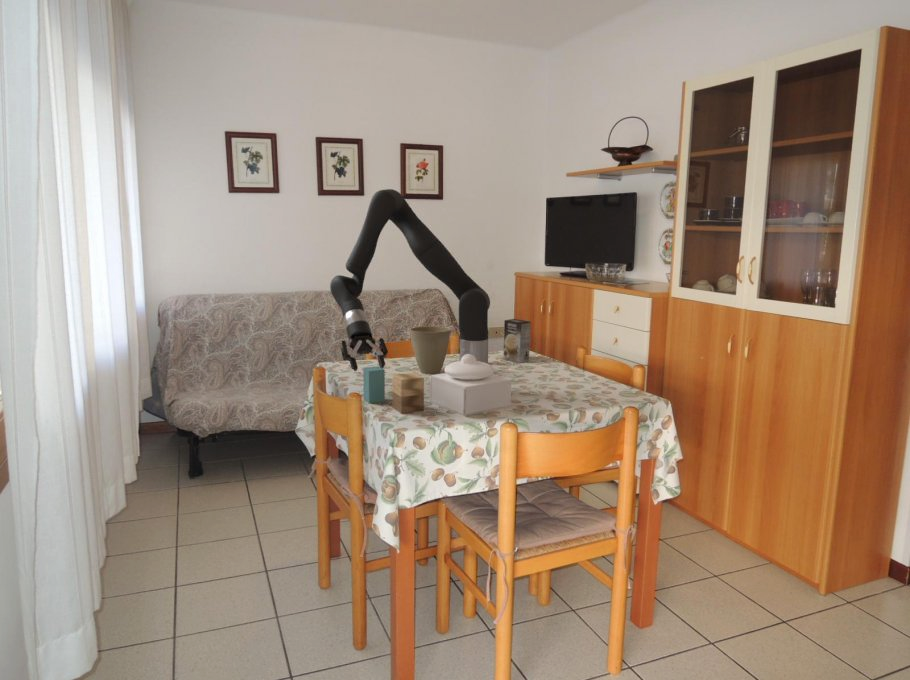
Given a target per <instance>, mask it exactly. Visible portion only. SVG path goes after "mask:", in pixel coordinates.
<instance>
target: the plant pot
mask: <svg viewBox="0 0 910 680" xmlns="http://www.w3.org/2000/svg"><path fill="white" fill-rule="evenodd" d="M451 330H452V329H451V328H450V327H447V326H446V327H445V326H438V325H434V326H433V325H431V326H430V325H427V326H426V325H425V326H424V325H423V326H422V325H421V326H415V327H410V328H409V333H410V342H411V346H412V350H413V354H414V357H415V361H416V364H417V367H418V369H419V372H420V373H422V374H427V375H436V374H440V373H441V372H442V368H443V366H444V364H445V360H446V357H447V353H448V348H449V344H450V340H451V339H450V338H451V332H452V331H451Z"/></svg>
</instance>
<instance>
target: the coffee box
mask: <svg viewBox="0 0 910 680" xmlns="http://www.w3.org/2000/svg"><path fill="white" fill-rule="evenodd" d="M531 323H532V322H531V321H529V320H524V319H518V318H512V319H511V318H510V319H506V320H505V319H504V323H503V325H504V327H503V328H504V329H503V356H502V357H503V359H502V360H504V361H505V360H506V361H508V362H509V361H510V362H513V363H520V364H521V363H527V362H529V361H530V352H531V351H530V350H531V349H530V347H531V329H532V328H531Z"/></svg>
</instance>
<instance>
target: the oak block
mask: <svg viewBox="0 0 910 680" xmlns="http://www.w3.org/2000/svg"><path fill="white" fill-rule="evenodd" d="M391 377H392V379H391V380H392V381H391V382H392V383H391V384H392V385H391V386H392V391H393V392H394V393H396V394H398V395H399V396H401V397H405V396H414V395H423V394H424V395H425V380H424V379H425V377H423V376H422V375H420V374H418V373H416V372H409V373H406V372H405V373H396V374H392V376H391ZM392 391H391V392H392Z"/></svg>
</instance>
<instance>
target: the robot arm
mask: <svg viewBox="0 0 910 680" xmlns="http://www.w3.org/2000/svg"><path fill="white" fill-rule="evenodd" d="M365 215H366V216H365V218H364V222H363V224H362V228H361V231H360V233H359V235H358V238H357V240H356V243H355V244H354V246H353V248H352V251H351V252H350V254H349V257H348V259H347V261H346V263H345V269H346V270H347V271H348V272H349V273H350V274H352V277H349V276H345V275H339V274H338V275H336V276H334V277H333V278H332V279H331V281H330V285H329V287H330V292H331V295H332V297H333V298H334V301H335V302H336V303H337V305H338V307H339V308H340V309H341V313H342V317H343V325H344V328H345V331H346V335H347V337H348V341H346V340H342V341H341V343H340V351H341V356H342V361H349V363H350V368H351V370H353V371H354V372H357V371H358V368H359V367H358V362H357V360H356V356H357V355H369V354H370V355H371V356H372V357H375V358H377V362H378V367H381V368H382V369H384V367H385V365H386V361H385V358H386V357H387V354H389V352H388V347H387V345H386V343H385V339H384V338H382V337H380V338H379V339H375V338H374V337H373V333H372V330H371V326H370V324H369V320H368V317H367V315H366V313H365V310H364V306H363V303H362V301H361V299H359V297H360V296H361V294H362V292H363V288H364V283H365V278H366V274H367V273H366V272H367V271H368V269H369V266H370V264H371V262H372V260H373V258H374V256H375V252H376V249H377V245H378V241H379V238H380V235H381V233H382V231H383V229H384V227H386V224H387V223H388V222H389V220H390V222H392V223H393V224H394V225H395V226H396V228H398V230H400V232H401V233H402V234H403V236H404V238H405V240H406V242H407V244H408V246H409V248H410V250H411V252H412V254H413V255H414V256H415V258H416V259H417V260H418V261H419V263H420V264H421V265H422V266H423V267H424V268H425V269H426V271H428V272H429V273H430V274H431V275H432V276H434V277H435V278H436V279H437V280H439V281H440V282H441V283H443V284H444V285H446V287H448V289H450V290H451V292H452V293H453V294H454V295H455V297H456V298H457V300H458V330H459V361H461V358H462V357H463V356H464V355H465V354H471V355H473V356H474V357H475V358H476V361H480V362H484V363H487V364H489V365H490V363H489V335H490V334H489V327H488V324H489V323H488V318H489V317H488V315H489V314H488V313H489V311H488V310H489V309H490V306H491V300H490V299H491V298H490V296H489V294H488V293H487V292H486V291H485V290H484V289H483V288H482V287H481V286H480V285H479V284H477V283H476V281H474V280H473V279H472V277H471V276H469V274H467V273H466V272H465V270H464V269H463V268H462V266H461V265H460V264H459V263H458V261H457V260H456V259H455V257H454V256H453V254H452V253H451V252H450V251H449V250H448V249H447V248H446V246H445V245H444V243H442V241H441V240H440V239H439V238H438V237H437V235H435V234H434V233H433V232H432V231H431V230H430V229H429V228H428V226H426V224H425V223H424V222H423V221H422V220H421V219H420V218H419V217H418V216H417V214H416V213H415V212H414V210H413V209H412V207H411V206H410V204H409V203H408V201H407V200H406V199H405V198H404V196H403V195H402V194H401V192H398V191H397V190H395V189H392V188H389V189H388V188H386V189H380V190H378V191H376V192H374V194H373V195H372V196H371V199H370V202H369V205H368V209H367V212H366V214H365ZM348 348H350V349H351V350H352V352H351V353H350V354H349V353H348Z"/></svg>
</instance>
